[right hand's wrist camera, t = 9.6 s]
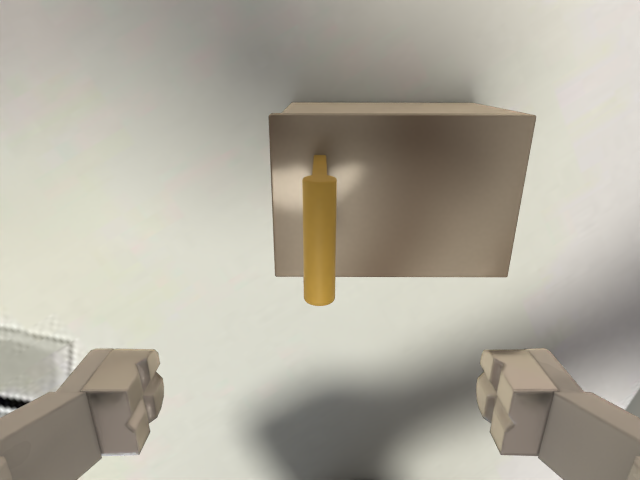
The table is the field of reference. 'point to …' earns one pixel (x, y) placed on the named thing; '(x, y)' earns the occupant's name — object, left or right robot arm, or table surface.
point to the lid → (395, 195)
